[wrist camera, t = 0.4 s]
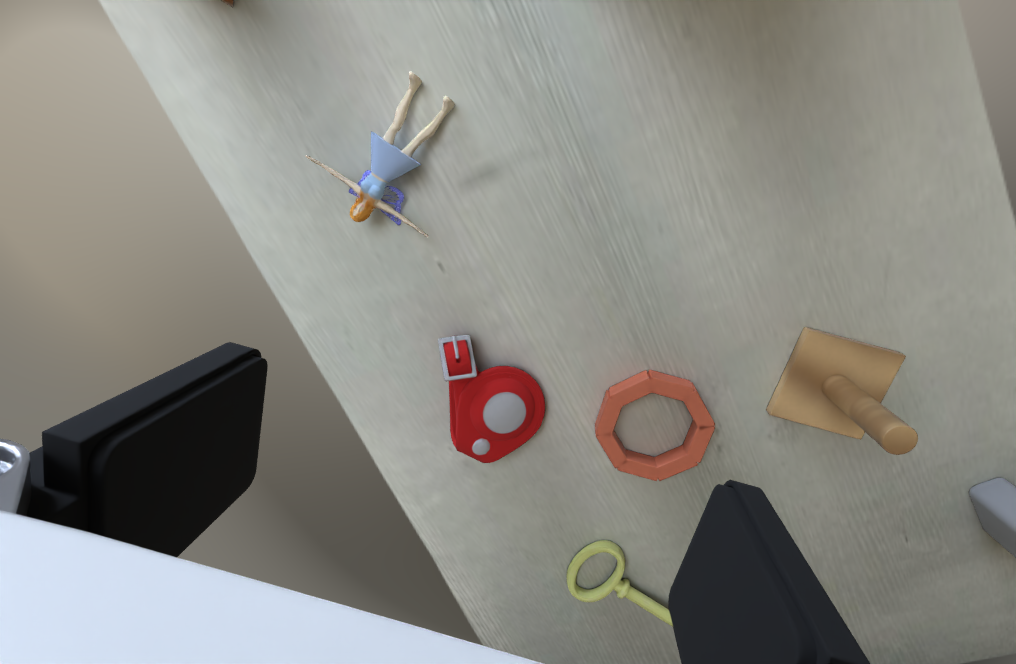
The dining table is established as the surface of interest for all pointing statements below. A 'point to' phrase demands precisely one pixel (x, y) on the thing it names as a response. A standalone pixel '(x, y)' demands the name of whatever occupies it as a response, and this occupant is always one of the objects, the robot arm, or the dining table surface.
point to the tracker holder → (488, 403)
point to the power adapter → (997, 510)
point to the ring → (669, 460)
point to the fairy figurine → (390, 162)
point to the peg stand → (842, 389)
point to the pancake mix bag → (228, 2)
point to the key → (611, 581)
